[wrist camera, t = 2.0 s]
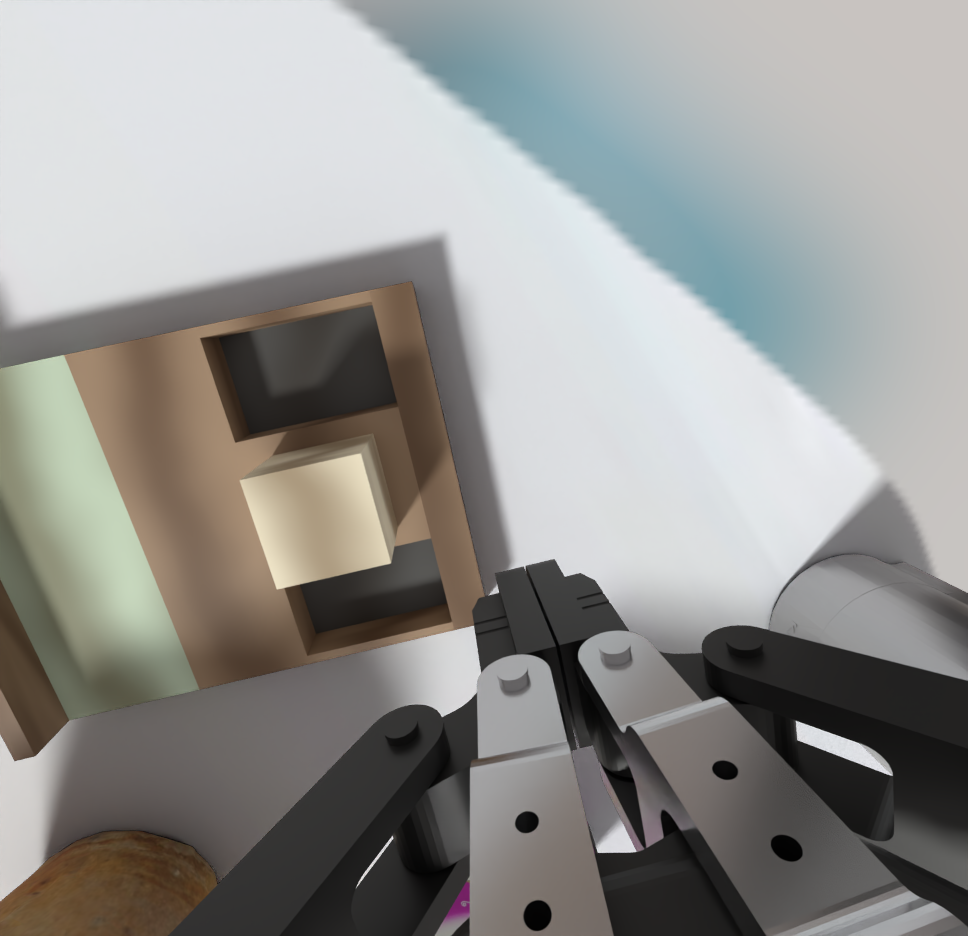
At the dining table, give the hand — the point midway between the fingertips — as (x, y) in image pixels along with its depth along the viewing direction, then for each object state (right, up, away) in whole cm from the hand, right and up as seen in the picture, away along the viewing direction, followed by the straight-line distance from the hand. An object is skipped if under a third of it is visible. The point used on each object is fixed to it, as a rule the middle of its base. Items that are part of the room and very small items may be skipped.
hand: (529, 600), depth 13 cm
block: (-9, +2, +14) cm, 16 cm away
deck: (-15, +1, +16) cm, 22 cm away
